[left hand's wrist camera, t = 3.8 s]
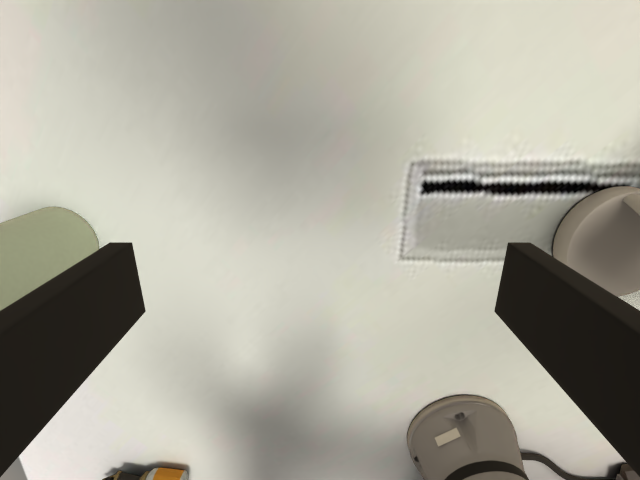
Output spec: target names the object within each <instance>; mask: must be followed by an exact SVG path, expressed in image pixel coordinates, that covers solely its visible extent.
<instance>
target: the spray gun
mask: <svg viewBox="0 0 640 480" xmlns="http://www.w3.org/2000/svg"><path fill="white" fill-rule="evenodd" d="M102 480H188V474H187V472H186V471H185V470H177V469H169V468H154V469H153V470H152V471H146V472H145V473H144V474H143V475H142V476H141V477H140V476H137V475H132V474H127V473H122V471H118V472H117V474H115V475H113V476H110V477H107V478H104V479H102Z"/></svg>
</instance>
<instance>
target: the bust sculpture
mask: <svg viewBox="0 0 640 480" xmlns="http://www.w3.org/2000/svg"><path fill="white" fill-rule="evenodd" d="M553 257H554V258H556V259H557V260H559V261H560V262H562V263H564V264H565V265H567V266H568V267H570V268H572V269H573V270H575V271H576V272H578V273H580V274H581V275H583V276H584V277H586V278H588V279H589V280H591V281H593V282H594V283H596V284H597V285H599V286H601V287H602V288H604V289H605V290H607V291H609V292H610V293H612V294H613V295H615V296H623V295H627V294H630V293H633V292H636V291H638V290H640V188H635V187H629V186H619V187H612V188H607V189H604V190H601V191H599V192H596V193H594V194H592V195H590V196H588V197H587V198H585V199H584V200H582V201H581V202H580V203H578V204H577V205H576V206H575V207H574V208H573V209H572V210H571V211H570V212H569V213H568V214H567V215H566V217H565V218H564V219H563V221H562V223H561V224H560V226H559V228H558V230H557V233H556V235H555V239H554V244H553Z"/></svg>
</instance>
